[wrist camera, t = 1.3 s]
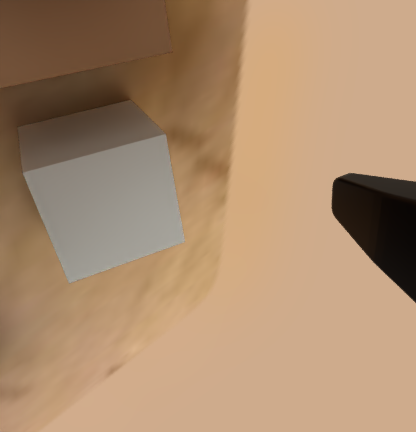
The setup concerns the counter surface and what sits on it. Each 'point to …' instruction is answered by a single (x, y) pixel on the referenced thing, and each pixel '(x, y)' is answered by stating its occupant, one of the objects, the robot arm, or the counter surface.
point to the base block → (77, 36)
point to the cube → (102, 187)
